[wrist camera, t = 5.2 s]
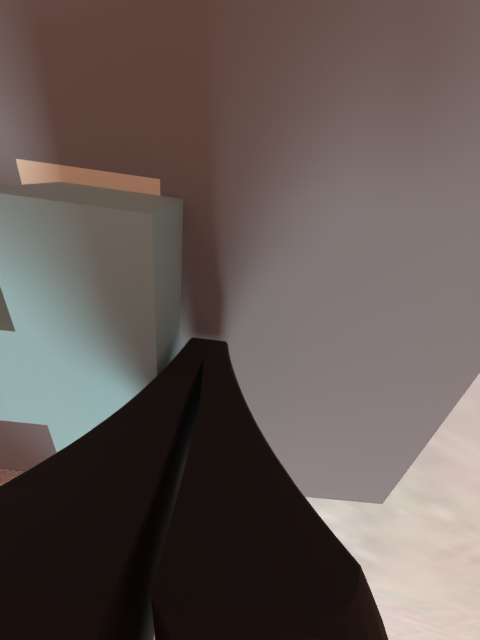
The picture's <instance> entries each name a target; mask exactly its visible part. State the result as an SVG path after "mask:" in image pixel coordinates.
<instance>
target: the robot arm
mask: <svg viewBox="0 0 480 640" xmlns="http://www.w3.org/2000/svg"><path fill="white" fill-rule="evenodd" d="M154 634H155V640H388V637H387V634H386V631H385V627H384V624H383V621H382V618H381V616H380V613H379V611H378V608H377V605H376V603H375V600H374V598H373V595H372V593H371V590H370V588H369V585H368V583H367V580H366V578H365V575H364V573H363V571H362V568H361V566H360V565H359V563H358V562H357V561H356V560H355V559H354V557H353V556H352V555H351V554H350V553H349V552H348V550H347V549H346V548H345V547H344V546H343V544H342V543H341V542H340V541H339V540H338V538H337V537H336V536H335V535H334V534H333V532H332V531H331V530H330V529H329V527H328V526H327V525H326V524H325V522H324V521H323V520H322V519H321V517H320V516H319V515H318V514H317V512H316V511H315V510H314V508H313V507H312V506H311V504H310V503H309V502H308V501H307V499H306V498H305V497H304V495H303V494H302V493H301V491H300V490H299V489H298V487H297V486H296V484H295V483H294V481H293V480H292V479H291V477H290V476H289V474H288V473H287V471H286V470H285V468H284V467H283V465H282V464H281V462H280V461H279V460H278V458H277V457H276V455H275V454H274V452H273V450H272V449H271V447H270V445H269V444H268V442H267V441H266V439H265V437H264V436H263V434H262V432H261V430H260V428H259V427H258V425H257V423H256V421H255V419H254V417H253V415H252V413H251V411H250V409H249V407H248V405H247V403H246V401H245V398H244V396H243V394H242V391H241V389H240V387H239V384H238V381H237V378H236V376H235V373H234V370H233V367H232V363H231V359H230V355H229V349H228V344H227V342H226V341H219V340H210V339H202V338H194V337H192V338H191V339H189V340H188V342H187V343H186V344H185V346H184V347H183V348H182V349H181V351H180V352H179V353H178V354H177V355H176V356H175V358H174V359H173V360H172V361H171V362H170V363H169V364H168V365H167V366H166V367H165V368H164V369H163V370H162V371H161V372H160V373H159V374H158V375H157V376H156V377H155V378H154V379H153V380H152V381H151V382H150V383H149V384H148V385H147V386H146V387H144V388H143V389H142V390H141V391H140V392H139V393H138V394H137V395H136V396H134V397H133V398H132V399H131V400H130V401H129V402H127V403H126V404H125V405H124V406H122V407H121V408H120V409H119V410H117V411H116V412H115V413H113V414H112V415H111V416H110V417H108V418H107V419H106V420H104V421H103V422H101V423H100V424H99V425H97V426H96V427H94V428H93V429H92V430H90V431H89V432H87V433H86V434H85V435H83V436H82V437H80V438H79V439H77V440H76V441H74V442H73V443H71V444H70V445H68V446H67V447H65V448H63V449H62V450H60V451H59V452H57V453H55V454H54V455H52V456H50V457H49V458H47V459H46V460H44V461H42V462H41V463H39V464H37V465H36V466H34V467H32V468H31V469H29V470H28V471H26V472H24V473H23V474H21V475H19V476H18V477H16V478H14V479H12V480H11V481H9V482H7V483H5V484H4V485H2V486H0V640H153V639H154Z"/></svg>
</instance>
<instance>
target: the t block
mask: <svg viewBox="0 0 480 640" xmlns="http://www.w3.org/2000/svg"><path fill="white" fill-rule="evenodd" d="M182 238H183V199H180V198H173V197H166V196H159V195H152V194H145V193H138V192H131V191H124V190H117V189H110V188H103V187H95V186H88V185H81V184H74V183H67V182H51V183H37V184H24V185H10V186H0V420H2V421H11V422H21V423H31V424H41V425H47V426H48V429H49V431H50V434H51V437H52V440H53V443H54V446H55V449H56V452H59V451H60V450H62V449H63V448H65V447H67V446H68V445H70V444H71V443H73V442H74V441H76V440H77V439H79V438H80V437H82V436H83V435H85V434H86V433H87V432H89V431H90V430H92V429H93V428H94V427H96V426H97V425H99V424H100V423H101V422H103V421H104V420H106V419H107V418H108V417H110V416H111V415H112V414H113V413H115V412H116V411H117V410H119V409H120V408H121V407H122V406H124V405H125V404H126V403H127V402H129V401H130V400H131V399H132V398H133V397H134V396H136V395H137V394H138V393H139V392H140V391H141V390H142V389H143V388H144V387H146V386H147V385H148V384H149V383H150V382H151V381H152V380H153V379H154V378H155V377H156V376H157V375H158V374H159V373H160V372H161V371H162V370H163V369H164V368H165V367H166V366H167V365H168V364H169V363H170V362H171V361H172V360H173V359H174V358H175V356H176V355H177V354H178V353H179V352H180V331H181V284H182Z"/></svg>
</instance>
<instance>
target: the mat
mask: <svg viewBox="0 0 480 640" xmlns="http://www.w3.org/2000/svg"><path fill="white" fill-rule="evenodd" d="M51 182H67V183H74V184H81V185H88V186H95V187H103V188H110V189H117V190H124V191H131V192H138V193H145V194H152V195H159V196H166V197H173V198H180V199H183V238H182V284H181V331H180V351H181V349H182V348H183V347H184V346H185V344H186V343H187V342H188V340H189V339H191V338H192V337H194V338H202V339H210V340H219V341H226V342H227V344H228V349H229V355H230V359H231V363H232V367H233V370H234V373H235V376H236V378H237V381H238V384H239V387H240V389H241V391H242V394H243V396H244V398H245V401H246V403H247V405H248V407H249V409H250V411H251V413H252V415H253V417H254V419H255V421H256V423H257V425H258V427H259V428H260V430H261V432H262V434H263V436H264V437H265V439H266V441H267V442H268V444H269V445H270V447H271V449H272V450H273V452H274V454H275V455H276V457H277V458H278V460H279V461H280V462H281V464H282V465H283V467H284V468H285V470H286V471H287V473H288V474H289V476H290V477H291V479H292V480H293V481H294V483H295V484H296V486H297V487H298V489H299V490H300V491H301V493H302V494H303V495H304V497H313V498H324V499H335V500H345V501H356V502H367V503H378V504H383V502H384V501H385V500H386V498H387V497H388V496H389V494H390V493H391V492H392V490H393V489H394V488H395V486H396V485H397V484H398V482H399V481H400V479H401V478H402V477H403V475H404V474H405V473H406V471H407V470H408V469H409V467H410V466H411V465H412V463H413V462H414V461H415V459H416V458H417V457H418V455H419V454H420V452H421V451H422V450H423V448H424V447H425V446H426V444H427V443H428V442H429V440H430V439H431V438H432V436H433V435H434V434H435V432H436V431H437V430H438V428H439V427H440V426H441V424H442V423H443V421H444V420H445V419H446V417H447V416H448V415H449V413H450V412H451V411H452V409H453V408H454V407H455V405H456V404H457V403H458V401H459V400H460V399H461V397H462V396H463V394H464V393H465V392H466V390H467V389H468V388H469V386H470V385H471V384H472V382H473V381H474V380H475V378H476V377H477V376H478V374H479V373H480V0H0V186H10V185H24V184H37V183H51ZM55 453H57V452H56V449H55V446H54V443H53V440H52V437H51V434H50V431H49V429H48V426H47V425H41V424H31V423H21V422H11V421H2V420H0V469H10V470H21V471H28V470H29V469H31V468H32V467H34V466H36V465H37V464H39V463H41V462H42V461H44V460H46V459H47V458H49V457H50V456H52V455H54V454H55Z"/></svg>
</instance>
